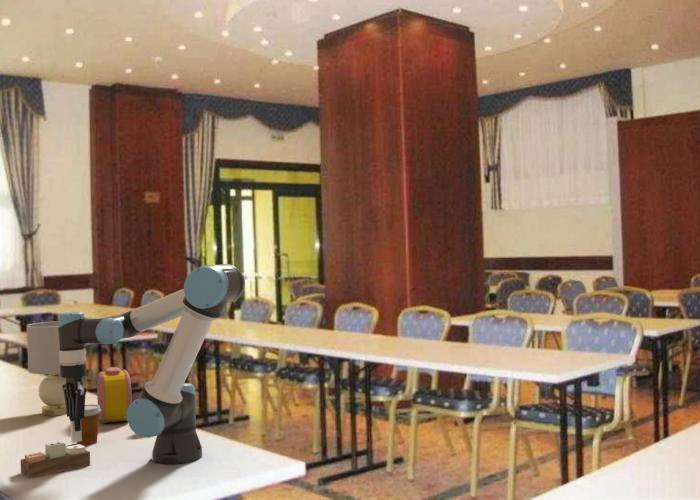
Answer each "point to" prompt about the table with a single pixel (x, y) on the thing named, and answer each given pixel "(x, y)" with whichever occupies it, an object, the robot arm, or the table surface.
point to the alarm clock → (113, 394)
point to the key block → (55, 464)
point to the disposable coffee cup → (90, 425)
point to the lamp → (47, 365)
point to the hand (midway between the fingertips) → (76, 441)
